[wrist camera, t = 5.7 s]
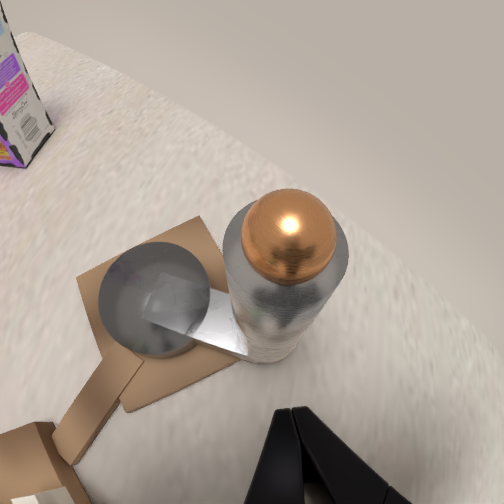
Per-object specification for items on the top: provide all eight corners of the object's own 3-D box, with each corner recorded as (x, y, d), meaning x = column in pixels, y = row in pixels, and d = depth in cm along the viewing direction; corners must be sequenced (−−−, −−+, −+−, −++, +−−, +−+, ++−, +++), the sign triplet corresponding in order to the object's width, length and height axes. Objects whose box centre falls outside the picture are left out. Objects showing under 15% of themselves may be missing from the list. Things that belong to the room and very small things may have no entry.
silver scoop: (94, 333, 16) (-55, 226, 6) (136, 243, 18) (54, 86, 8) (274, 403, 14) (332, 398, 4) (306, 295, 17) (377, 131, 7)
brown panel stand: (383, 513, 12) (423, 539, 7) (77, 607, 7) (46, 633, 2) (200, 220, 21) (188, 169, 16) (-41, 351, 15) (-84, 331, 11)
